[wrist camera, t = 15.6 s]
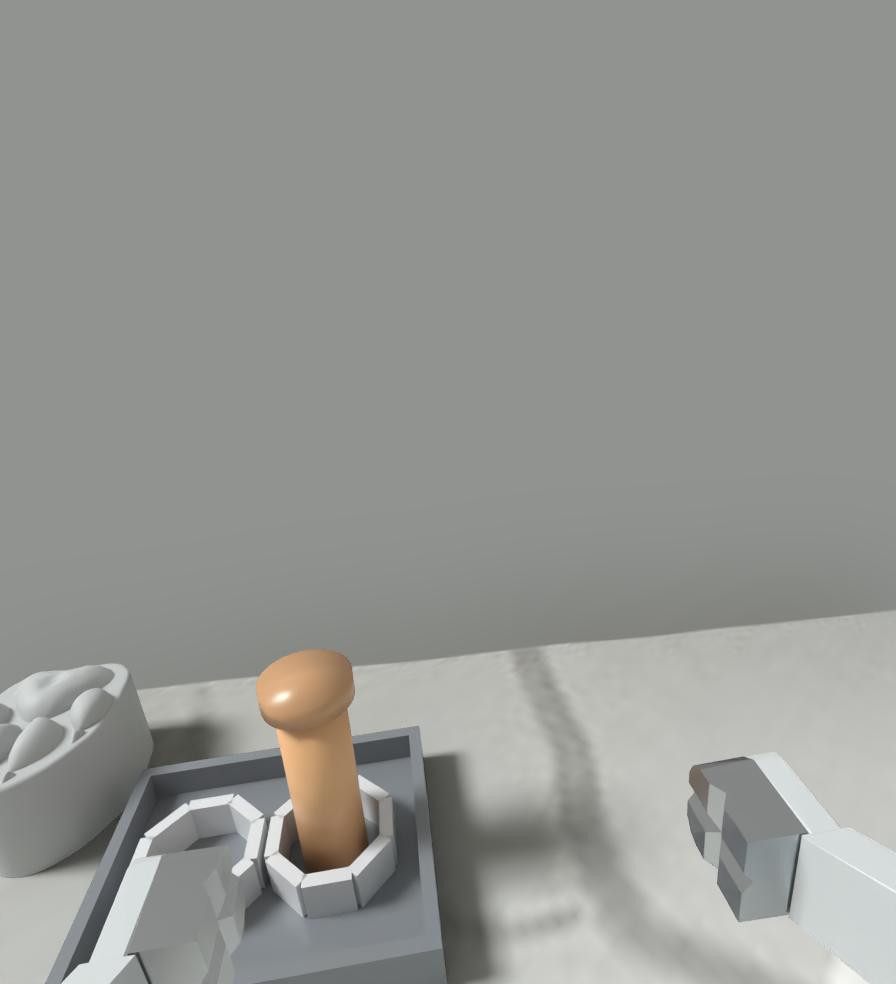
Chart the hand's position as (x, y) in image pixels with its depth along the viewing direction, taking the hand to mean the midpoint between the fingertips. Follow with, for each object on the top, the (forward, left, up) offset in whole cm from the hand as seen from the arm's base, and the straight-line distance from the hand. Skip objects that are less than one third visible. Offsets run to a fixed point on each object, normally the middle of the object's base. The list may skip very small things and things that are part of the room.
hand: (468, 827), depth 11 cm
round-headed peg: (-15, -17, -25) cm, 33 cm away
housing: (-13, -20, -26) cm, 35 cm away
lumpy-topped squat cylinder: (-13, -40, -26) cm, 49 cm away
